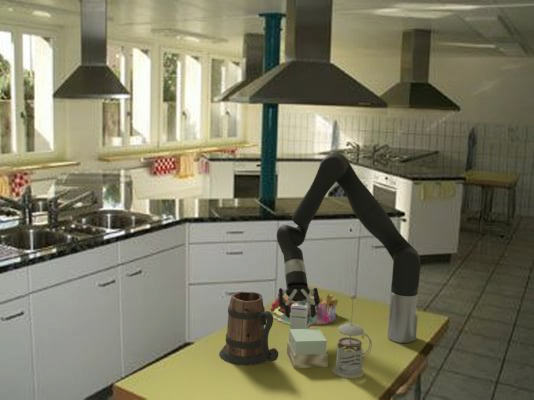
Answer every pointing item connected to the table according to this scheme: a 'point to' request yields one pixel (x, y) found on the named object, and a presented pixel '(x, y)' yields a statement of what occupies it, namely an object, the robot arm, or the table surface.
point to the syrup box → (299, 315)
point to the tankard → (248, 331)
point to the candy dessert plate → (323, 311)
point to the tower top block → (307, 341)
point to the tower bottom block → (307, 359)
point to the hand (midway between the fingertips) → (301, 317)
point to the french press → (348, 365)
